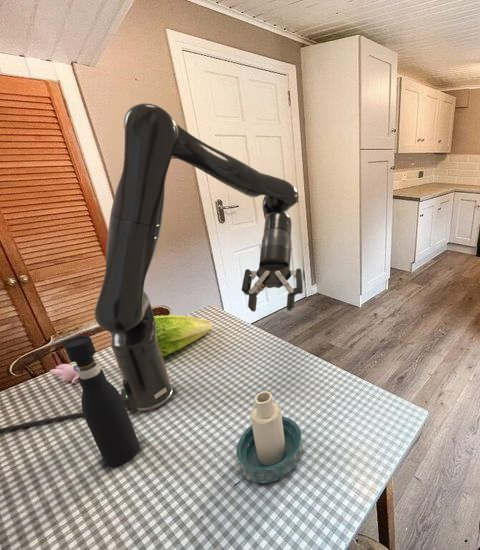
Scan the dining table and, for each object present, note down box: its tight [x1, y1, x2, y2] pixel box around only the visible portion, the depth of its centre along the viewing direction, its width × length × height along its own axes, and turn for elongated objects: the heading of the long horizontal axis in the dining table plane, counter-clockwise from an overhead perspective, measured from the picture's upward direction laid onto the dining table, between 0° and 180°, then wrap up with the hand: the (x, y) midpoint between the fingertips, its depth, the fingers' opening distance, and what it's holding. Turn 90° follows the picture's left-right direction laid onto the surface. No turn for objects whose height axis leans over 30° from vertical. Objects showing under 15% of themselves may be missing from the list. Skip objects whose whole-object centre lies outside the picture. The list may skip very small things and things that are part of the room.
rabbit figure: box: [49, 363, 79, 384], centre depth 90 cm, size 6×6×15 cm
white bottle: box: [249, 391, 286, 465], centre depth 65 cm, size 6×6×16 cm
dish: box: [235, 416, 303, 484], centre depth 67 cm, size 14×14×4 cm
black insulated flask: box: [63, 335, 141, 468], centre depth 63 cm, size 6×6×30 cm
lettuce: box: [154, 314, 213, 358], centre depth 106 cm, size 14×23×14 cm
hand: (271, 310), depth 72 cm, fingers open, 8 cm apart
